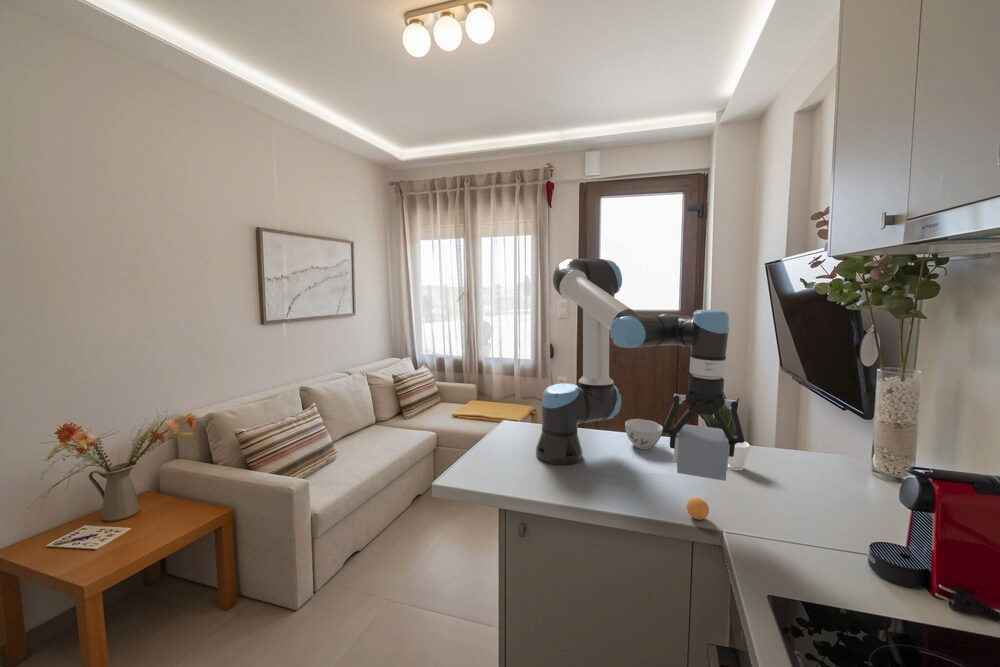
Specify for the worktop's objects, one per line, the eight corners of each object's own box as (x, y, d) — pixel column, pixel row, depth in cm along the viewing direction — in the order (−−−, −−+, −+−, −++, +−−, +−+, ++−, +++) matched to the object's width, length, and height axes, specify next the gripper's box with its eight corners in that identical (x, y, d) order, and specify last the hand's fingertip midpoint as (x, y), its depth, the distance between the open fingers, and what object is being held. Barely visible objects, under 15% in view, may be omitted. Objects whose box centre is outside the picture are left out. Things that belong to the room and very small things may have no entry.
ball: (686, 491, 106) (685, 504, 108) (688, 509, 102) (686, 522, 104) (708, 494, 104) (706, 507, 107) (711, 512, 100) (709, 525, 103)
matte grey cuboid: (677, 472, 100) (679, 437, 99) (676, 456, 110) (678, 423, 108) (725, 480, 96) (728, 443, 95) (720, 462, 106) (723, 429, 105)
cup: (745, 474, 128) (747, 449, 127) (709, 465, 134) (711, 440, 133) (750, 467, 133) (752, 442, 132) (715, 458, 140) (717, 434, 139)
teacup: (649, 457, 140) (650, 433, 139) (616, 445, 149) (617, 423, 148) (671, 445, 150) (673, 423, 149) (639, 435, 159) (640, 414, 158)
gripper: (654, 374, 101) (649, 462, 104) (765, 384, 92) (756, 479, 95) (655, 368, 108) (650, 451, 111) (758, 376, 99) (750, 466, 102)
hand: (699, 464), depth 103 cm, fingers closed on matte grey cuboid, 10 cm apart
